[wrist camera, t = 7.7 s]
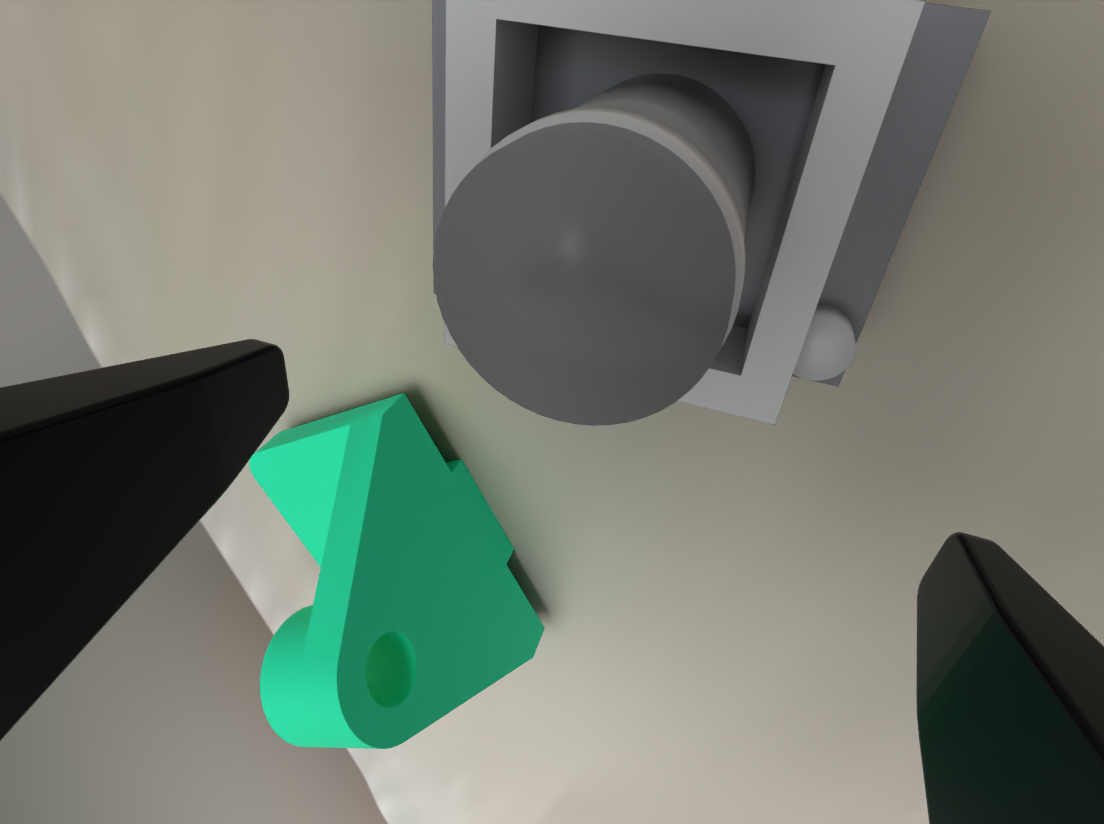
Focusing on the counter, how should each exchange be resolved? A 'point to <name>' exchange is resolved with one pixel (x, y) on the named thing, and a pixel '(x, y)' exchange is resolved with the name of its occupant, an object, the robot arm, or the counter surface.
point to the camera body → (771, 123)
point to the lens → (601, 251)
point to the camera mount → (386, 582)
